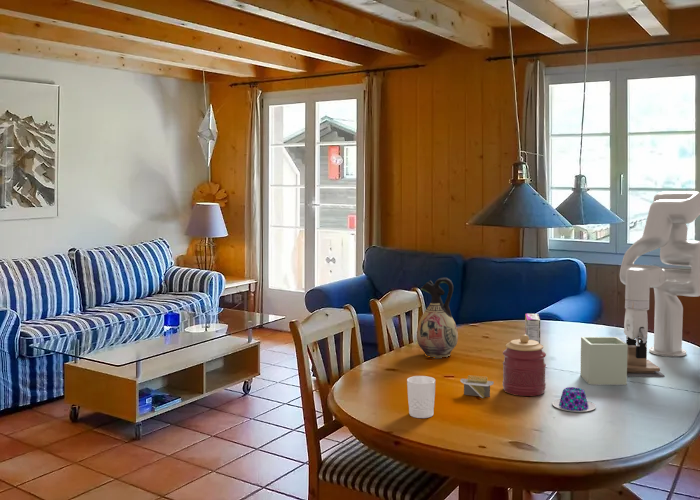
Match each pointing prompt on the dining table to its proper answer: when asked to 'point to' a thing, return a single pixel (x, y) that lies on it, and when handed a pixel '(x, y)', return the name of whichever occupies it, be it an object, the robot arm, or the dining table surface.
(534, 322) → the candy bar box
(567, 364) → the dining table surface
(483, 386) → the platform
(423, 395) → the white cup
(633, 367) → the lid
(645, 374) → the mat
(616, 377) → the box
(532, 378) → the canister
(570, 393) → the pudding
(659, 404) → the dining table surface
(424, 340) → the ceramic jug
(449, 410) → the dining table surface
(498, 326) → the dining table surface
